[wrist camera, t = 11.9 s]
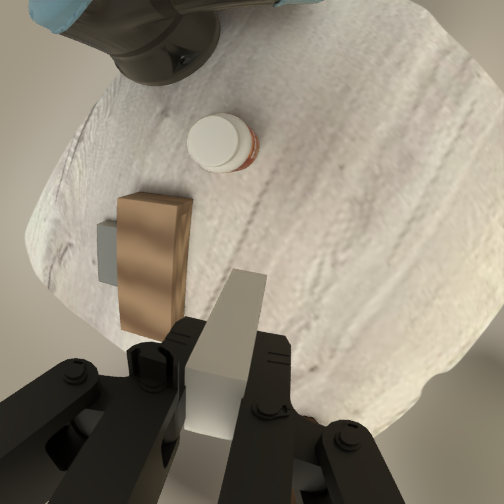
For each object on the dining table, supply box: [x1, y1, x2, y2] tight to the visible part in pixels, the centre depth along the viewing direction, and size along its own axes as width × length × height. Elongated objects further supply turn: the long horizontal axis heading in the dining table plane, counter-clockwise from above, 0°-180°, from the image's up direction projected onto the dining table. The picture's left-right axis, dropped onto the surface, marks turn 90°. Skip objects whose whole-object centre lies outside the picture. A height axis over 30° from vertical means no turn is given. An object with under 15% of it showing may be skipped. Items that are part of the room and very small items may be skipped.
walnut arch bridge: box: [117, 192, 193, 342], centre depth 37 cm, size 19×8×6 cm, turn 171°
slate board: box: [97, 220, 118, 287], centre depth 39 cm, size 9×11×3 cm
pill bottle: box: [187, 113, 259, 173], centre depth 29 cm, size 6×6×11 cm
